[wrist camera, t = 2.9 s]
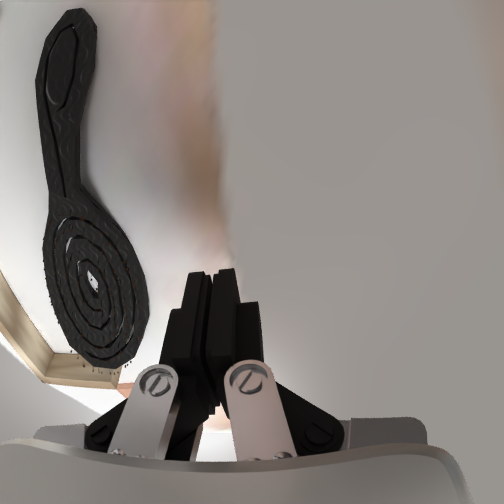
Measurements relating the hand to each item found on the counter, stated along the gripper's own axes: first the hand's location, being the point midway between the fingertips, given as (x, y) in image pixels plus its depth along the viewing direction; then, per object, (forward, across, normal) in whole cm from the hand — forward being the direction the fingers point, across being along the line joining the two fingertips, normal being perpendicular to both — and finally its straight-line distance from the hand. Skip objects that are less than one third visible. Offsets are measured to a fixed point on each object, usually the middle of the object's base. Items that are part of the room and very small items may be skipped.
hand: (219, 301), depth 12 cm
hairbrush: (+8, +9, -2) cm, 12 cm away
